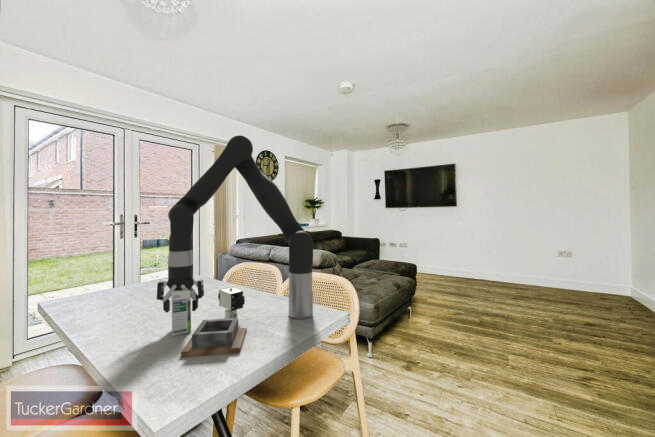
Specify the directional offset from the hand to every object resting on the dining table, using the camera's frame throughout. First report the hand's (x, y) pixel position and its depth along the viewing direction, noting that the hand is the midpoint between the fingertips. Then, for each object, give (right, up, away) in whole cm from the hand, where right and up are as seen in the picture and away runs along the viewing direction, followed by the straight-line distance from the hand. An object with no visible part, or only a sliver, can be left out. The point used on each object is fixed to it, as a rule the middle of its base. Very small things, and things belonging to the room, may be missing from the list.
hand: (180, 311), depth 94 cm
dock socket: (+16, -7, -9) cm, 19 cm away
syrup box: (0, -7, 0) cm, 7 cm away
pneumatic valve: (+14, -7, +11) cm, 19 cm away
